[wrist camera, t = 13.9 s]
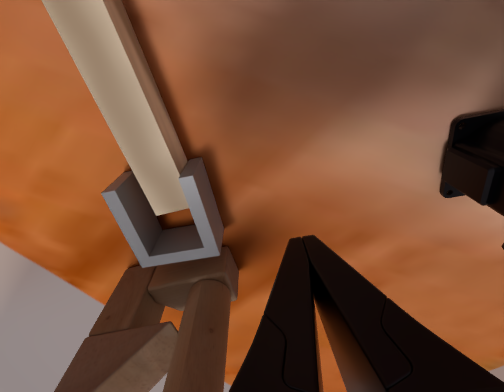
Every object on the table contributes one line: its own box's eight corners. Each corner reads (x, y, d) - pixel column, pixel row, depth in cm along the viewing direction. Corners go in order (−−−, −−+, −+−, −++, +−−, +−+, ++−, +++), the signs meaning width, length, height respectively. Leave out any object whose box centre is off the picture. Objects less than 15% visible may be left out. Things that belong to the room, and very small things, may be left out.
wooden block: (125, 267, 26) (-78, 611, 10) (228, 243, 24) (186, 599, 8) (142, 292, 27) (-6, 618, 11) (240, 271, 26) (223, 610, 10)
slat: (26, -237, 11) (-40, -323, 9) (200, 188, 22) (193, 207, 19) (-30, -208, 12) (-110, -284, 9) (167, 196, 22) (156, 215, 19)
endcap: (156, 240, 24) (142, 267, 21) (123, 172, 21) (100, 193, 17) (224, 229, 23) (220, 255, 20) (201, 157, 20) (192, 175, 17)
